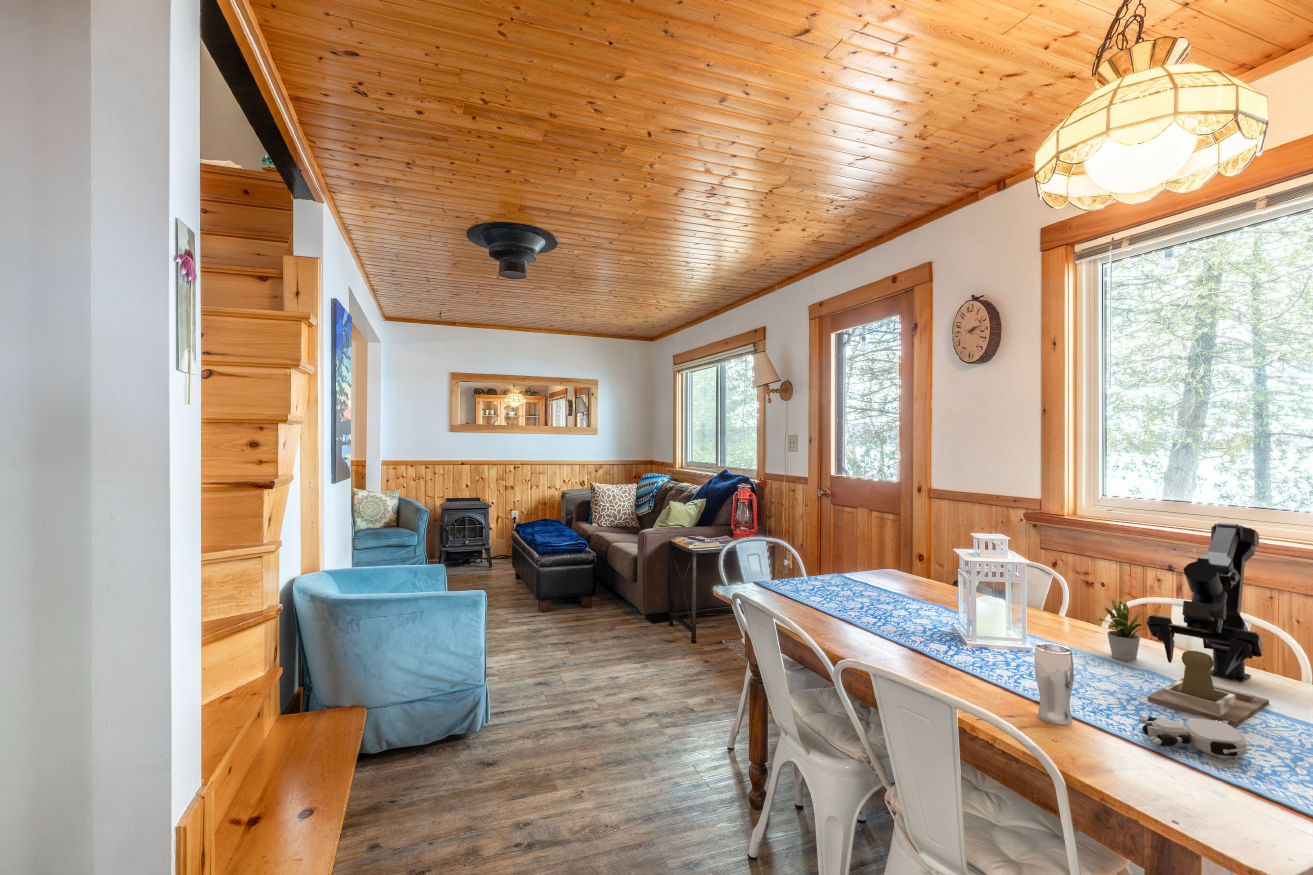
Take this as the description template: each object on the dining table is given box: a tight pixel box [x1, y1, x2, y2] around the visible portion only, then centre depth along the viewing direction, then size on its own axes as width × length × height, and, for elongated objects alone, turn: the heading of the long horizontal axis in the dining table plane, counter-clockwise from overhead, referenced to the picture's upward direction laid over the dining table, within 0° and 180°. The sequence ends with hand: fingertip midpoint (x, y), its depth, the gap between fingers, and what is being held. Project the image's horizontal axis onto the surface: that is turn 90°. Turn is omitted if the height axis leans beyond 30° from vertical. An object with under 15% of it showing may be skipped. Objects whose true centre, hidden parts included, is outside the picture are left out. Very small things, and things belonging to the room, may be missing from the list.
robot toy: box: [1138, 716, 1254, 760], centre depth 115 cm, size 12×4×15 cm
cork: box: [1181, 650, 1216, 702], centre depth 132 cm, size 6×6×11 cm
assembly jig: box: [1147, 677, 1270, 727], centre depth 134 cm, size 20×15×4 cm
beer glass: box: [1034, 642, 1075, 726], centre depth 128 cm, size 7×7×15 cm
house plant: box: [1089, 596, 1154, 662], centre depth 164 cm, size 14×14×16 cm
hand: (1196, 667), depth 131 cm, fingers open, 9 cm apart
